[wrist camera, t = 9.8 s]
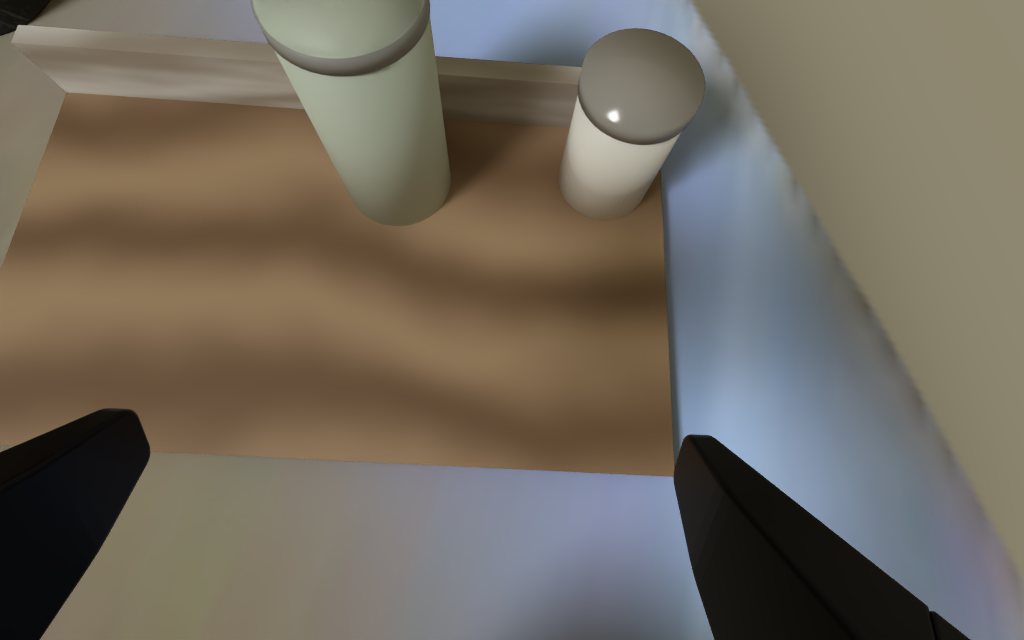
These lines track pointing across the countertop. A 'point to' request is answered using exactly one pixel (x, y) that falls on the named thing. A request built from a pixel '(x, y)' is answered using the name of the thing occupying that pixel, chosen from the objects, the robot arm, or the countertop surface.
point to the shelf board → (325, 275)
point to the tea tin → (368, 97)
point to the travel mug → (18, 13)
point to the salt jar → (627, 119)
